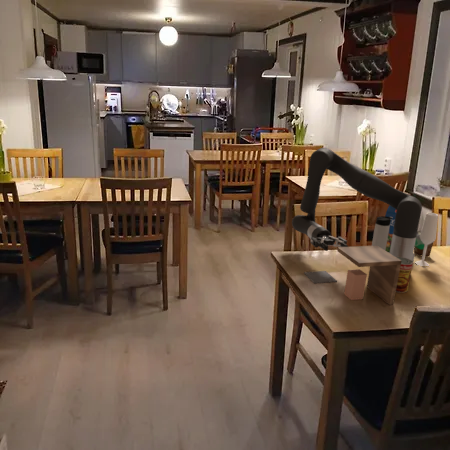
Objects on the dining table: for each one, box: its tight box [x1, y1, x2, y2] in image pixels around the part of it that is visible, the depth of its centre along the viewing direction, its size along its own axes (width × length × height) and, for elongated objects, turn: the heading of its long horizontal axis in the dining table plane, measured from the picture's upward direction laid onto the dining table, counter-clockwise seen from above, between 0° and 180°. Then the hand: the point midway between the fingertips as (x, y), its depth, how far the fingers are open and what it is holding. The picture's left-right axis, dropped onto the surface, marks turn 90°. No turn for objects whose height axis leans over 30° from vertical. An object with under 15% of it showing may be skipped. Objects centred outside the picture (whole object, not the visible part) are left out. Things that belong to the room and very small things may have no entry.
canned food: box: [396, 257, 414, 293], centre depth 179 cm, size 8×8×12 cm
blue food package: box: [384, 204, 397, 253], centre depth 218 cm, size 6×12×25 cm, turn 48°
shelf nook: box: [336, 245, 401, 306], centre depth 169 cm, size 17×16×18 cm
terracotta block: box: [344, 268, 368, 301], centre depth 170 cm, size 5×5×10 cm
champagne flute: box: [414, 212, 439, 267], centre depth 204 cm, size 7×7×24 cm
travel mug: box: [371, 215, 392, 250], centre depth 209 cm, size 6×7×20 cm
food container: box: [413, 229, 434, 257], centre depth 220 cm, size 12×6×10 cm, turn 5°
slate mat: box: [303, 270, 338, 284], centre depth 187 cm, size 10×10×1 cm
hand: (336, 248), depth 182 cm, fingers open, 8 cm apart
